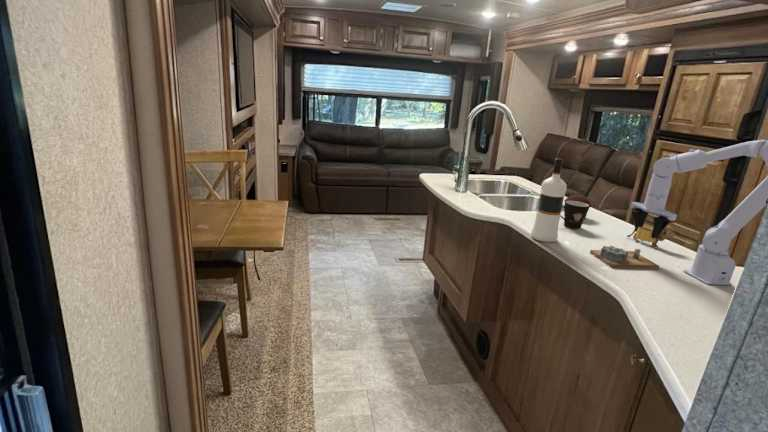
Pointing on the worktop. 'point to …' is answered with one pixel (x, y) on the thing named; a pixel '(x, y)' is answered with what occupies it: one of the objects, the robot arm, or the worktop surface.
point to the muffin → (578, 198)
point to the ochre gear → (645, 234)
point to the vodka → (550, 206)
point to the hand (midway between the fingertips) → (646, 234)
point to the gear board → (623, 258)
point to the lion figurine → (663, 235)
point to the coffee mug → (574, 214)
